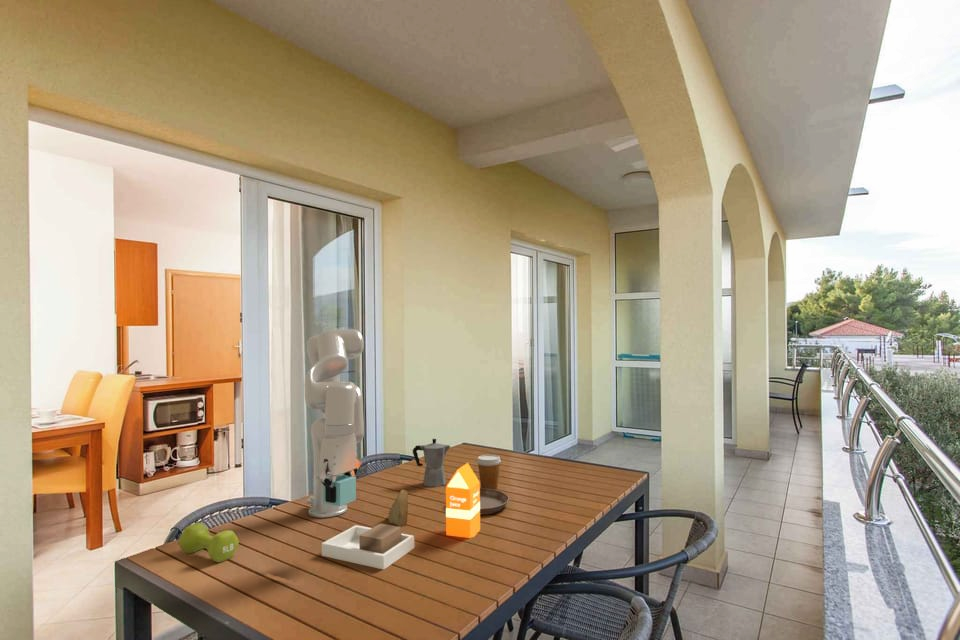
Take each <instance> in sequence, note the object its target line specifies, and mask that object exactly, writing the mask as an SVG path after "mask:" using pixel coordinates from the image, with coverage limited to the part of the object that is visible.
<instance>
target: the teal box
mask: <svg viewBox="0 0 960 640" xmlns="http://www.w3.org/2000/svg"><path fill="white" fill-rule="evenodd" d="M331 478H332V477H331ZM331 478H330V479H329V480H330V481H331ZM334 487H336V502H335V503H330V502H326V501H325V487H324V486H323V503H324V504H329V505H335V506H342V505H345V504H346V505H348V504H349V503H351V502H354V501H356V500H357V477H356V476H355V477H351V476H344V474H343V475H337V477H336V481H335V485H334Z"/></svg>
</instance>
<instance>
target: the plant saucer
mask: <svg viewBox="0 0 960 640" xmlns="http://www.w3.org/2000/svg"><path fill="white" fill-rule="evenodd" d="M509 501H510V497H509V496H508V494H507V493H505V492H503V491H499V490H498V489H496V490H491V489H481V488H480V516H481V515H488V514H489V515H490V514H494V513H497V512H499V511H501V510H502V509H503V508H504V507H506V505H507V503H508V502H509Z"/></svg>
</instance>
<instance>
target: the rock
mask: <svg viewBox="0 0 960 640" xmlns="http://www.w3.org/2000/svg"><path fill="white" fill-rule="evenodd" d="M408 509H409V493H408V491H407V490H405V489H403V488H402V489H401V490H400V492H399V493H398V495H397V496H396V498H395V500H394V502H393V503H392V504H391V507H390V510H389V512H388V516H387V520H388V523H391V524H395V525H396V526H397V527H401V528H402V527H407V525H408V524H407V523H408V514H409V510H408Z"/></svg>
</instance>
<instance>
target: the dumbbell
mask: <svg viewBox="0 0 960 640" xmlns="http://www.w3.org/2000/svg"><path fill="white" fill-rule="evenodd" d="M210 534H211V533H210V530H209V529H208V528H207V526H206V525H205V524H204V523H202V522H195V523H193V524H189V525H188V526H186V527H185V528H184V529H183V531H182V532H181V535H180V537H179V539H178V545H179V547H180V548H181V550H182V551H183V552H184V553H186V554H192V553H195V551H196V552H199V551H200V550H203V549H205V548H206V549H207V553H208V555H209V557H210V559H211V560H212V561H213V562H216V563H222V562H225V561H227V560H230V559H231V558H232V557H233V556H234V555H235V553H236V551H237V548H238V546H239V544H240V542H239V538H238V537H237V535H236V533H235V532H234V531H233V530H228V529H226V530H222V531H221V532H218V533H216V534H214V535H213V536H212V535H210ZM198 550H199V551H198Z"/></svg>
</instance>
